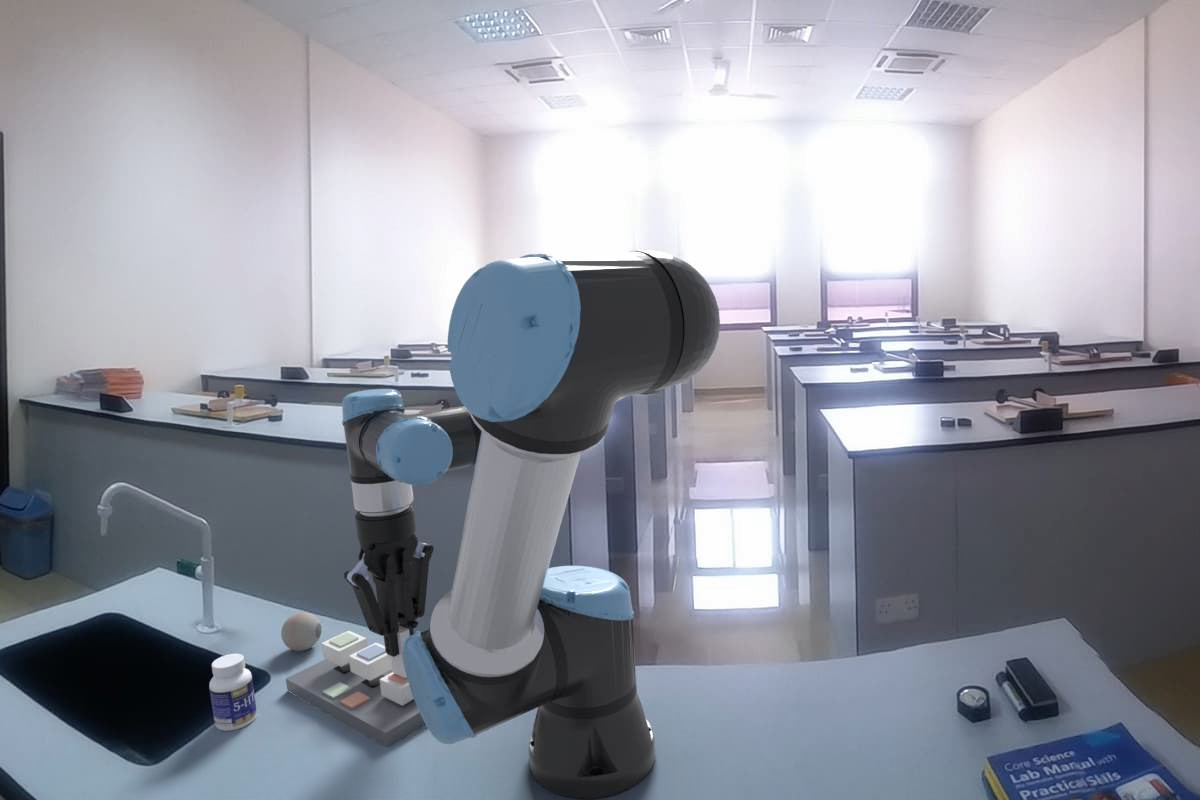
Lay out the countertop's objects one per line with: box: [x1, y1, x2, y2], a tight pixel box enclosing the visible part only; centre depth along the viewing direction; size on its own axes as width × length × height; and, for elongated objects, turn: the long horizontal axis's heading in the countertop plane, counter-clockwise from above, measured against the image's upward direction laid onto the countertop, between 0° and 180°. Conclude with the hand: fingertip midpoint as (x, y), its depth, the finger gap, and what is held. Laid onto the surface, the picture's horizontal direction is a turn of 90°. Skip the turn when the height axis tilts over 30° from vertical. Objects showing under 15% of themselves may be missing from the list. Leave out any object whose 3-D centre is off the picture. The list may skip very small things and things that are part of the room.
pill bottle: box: [208, 653, 258, 732], centre depth 105 cm, size 5×5×9 cm
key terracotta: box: [380, 672, 414, 706], centre depth 105 cm, size 5×5×5 cm
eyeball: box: [280, 611, 322, 652], centre depth 124 cm, size 6×6×6 cm
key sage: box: [321, 630, 369, 672], centre depth 114 cm, size 5×5×5 cm
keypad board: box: [285, 659, 426, 748], centre depth 109 cm, size 24×12×2 cm, turn 51°
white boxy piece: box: [349, 642, 392, 686], centre depth 109 cm, size 5×5×5 cm
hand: (403, 672), depth 105 cm, fingers closed
